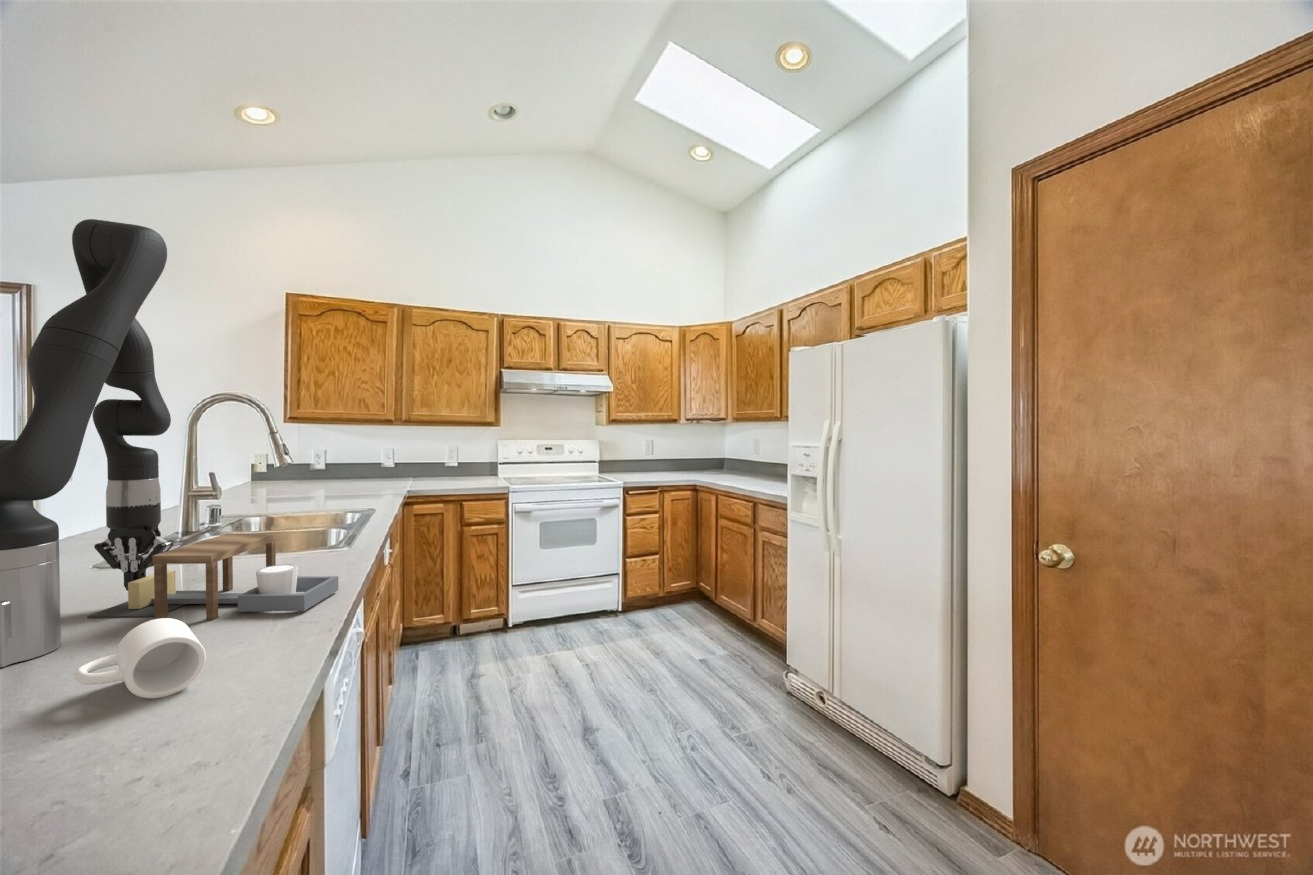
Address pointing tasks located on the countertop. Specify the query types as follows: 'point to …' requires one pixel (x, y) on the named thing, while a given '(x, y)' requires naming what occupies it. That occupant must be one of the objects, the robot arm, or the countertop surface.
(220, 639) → the countertop surface
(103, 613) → the mat
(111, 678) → the mug
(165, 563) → the small wooden table
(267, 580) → the white cup
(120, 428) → the robot arm
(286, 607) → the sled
